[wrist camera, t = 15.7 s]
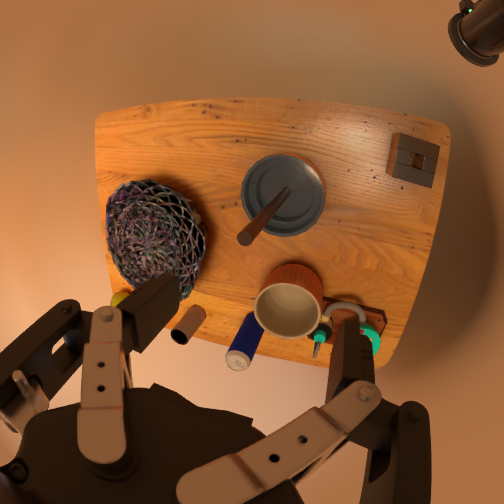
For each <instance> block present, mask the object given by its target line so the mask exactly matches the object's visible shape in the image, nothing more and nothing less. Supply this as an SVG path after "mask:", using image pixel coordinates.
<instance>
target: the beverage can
mask: <svg viewBox="0 0 504 504" xmlns="http://www.w3.org/2000/svg"><path fill="white" fill-rule="evenodd" d="M263 332H264V329H263V328H262V327H261V326H260V324H259V323H258V321H257V320H256V317H255V314H254V313H249V314H248V315H247V316H246V317H245V319H244V321H243V323H242V325H241V327H240V329H239V331H238V333H237V335H236V336H235V338H234V340H233V342H232V344H231V346H230V348H229V350H228V352H227V353H226V357H225V362H226V364H227V366H228V367H230V368H231V369H232V370H235V371H244V370H246V369H247V367H249V366H250V363H251V361H252V359H253V356H254V354H255V352H256V349H257V347H258V344H259V342H260V339H261V337H262V335H263Z"/></svg>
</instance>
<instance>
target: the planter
mask: <svg viewBox="0 0 504 504" xmlns="http://www.w3.org/2000/svg"><path fill="white" fill-rule="evenodd" d="M322 302H323V289H322V284H321V282H320V280H319V278H318V276H317V275H316V274H315V273H314V272H313V271H312V270H311V269H309V268H307V267H305V266H303V265H299V264H286V265H283V266H280V267H278V268H276V269H275V270H274V271H272V272H271V274H270V275H269V276H268V277H267V279H266V280H265V282H264V284H263V285H262V287H261V288H260V290H259V292H258V294H257V296H256V298H255V301H254V314H255V317H256V320H257V321H258V323H259V324H260V326H261V327H262V328H263V329H264V330H266V331H267V332H268V333H270V334H272V335H274V336H276V337H279V338H283V339H298V338H302V337H305V336H307V335H309V334H310V333H311V332H313V331H314V330H315V329H316V327H317V326H318V324H319V322H320V319H321V315H322Z"/></svg>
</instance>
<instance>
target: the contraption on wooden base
mask: <svg viewBox="0 0 504 504" xmlns="http://www.w3.org/2000/svg"><path fill="white" fill-rule="evenodd" d="M344 319H345V320H350V321H355V322H359V323H360V334H363V335H368V337H369V339H370V340H371V342H372V345H373V356H374V355H375V354H376V352H377V351H378V349H379V347H380V343H381V340H380V337H381V335H382V333H383V330H384V328H385V326H386V324H387V319H386V316H385V313H384V310H380V309H375V308H371V307H367V306H362V305H358V304H354V303H351V302H345V301H341V300H337V299H333V298H328V297H324V296H323V302H322V315H321V319H320V322H319V324H318V326H317V327H316V329H315V330H314V331H313V332H311V333H310V334H309V335H307V336H308V338H309V339H311V340H315V346H314V352H313V358H316V356H317V353H318V351H319V348H320V343H323V342H324V343H328V344H333V345H334V342H335V340H336V337H337V335H338V332H339V329H340V327H341V324H342V322H343V320H344Z"/></svg>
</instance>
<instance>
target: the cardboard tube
mask: <svg viewBox="0 0 504 504" xmlns="http://www.w3.org/2000/svg"><path fill="white" fill-rule="evenodd" d="M205 317H206V314H205V311H204V310H203V309H202V308H201V307H199V306H192V307H191V308H190V309H189V310H188V311H187V312H186V314H185V315H184V316H183V317H182V318H181V320H180V321H179V322H178V323H177V325H176V326H175V327H174V328H173V329H172V331H171V337H172V339H173V340H174V341H175V342H176V343H178V344H182V345H185V344H187V342H188V341H189V340H190V339H191V337H192V336H193V334H194V333H195V332H196V330H197V329H198V327H199V326H200V325H201V323H202V322H203V321H204V319H205Z"/></svg>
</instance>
